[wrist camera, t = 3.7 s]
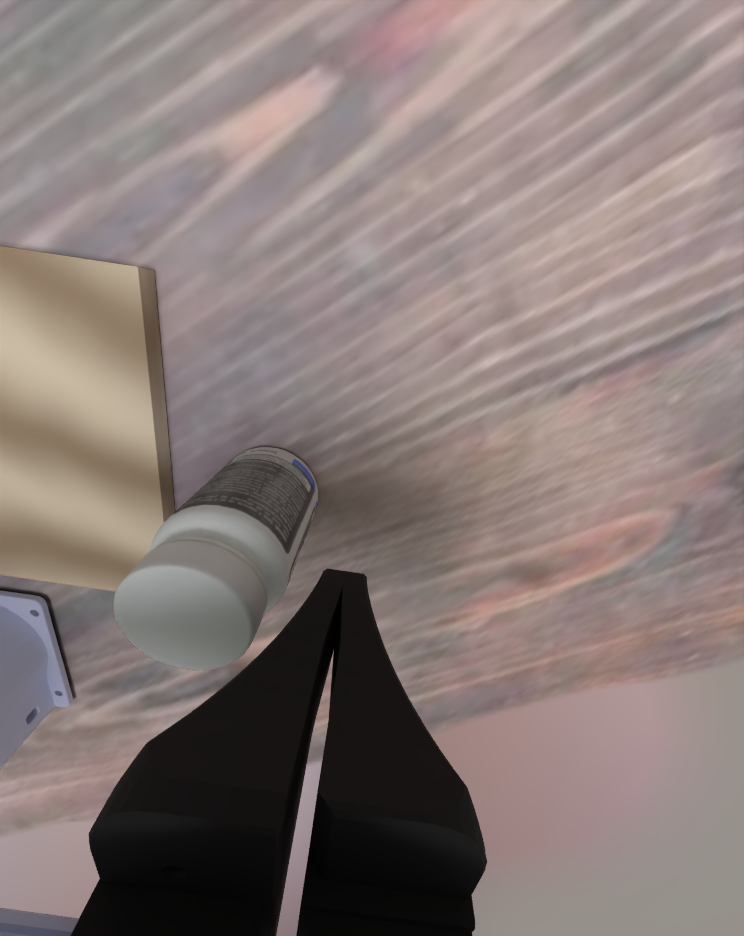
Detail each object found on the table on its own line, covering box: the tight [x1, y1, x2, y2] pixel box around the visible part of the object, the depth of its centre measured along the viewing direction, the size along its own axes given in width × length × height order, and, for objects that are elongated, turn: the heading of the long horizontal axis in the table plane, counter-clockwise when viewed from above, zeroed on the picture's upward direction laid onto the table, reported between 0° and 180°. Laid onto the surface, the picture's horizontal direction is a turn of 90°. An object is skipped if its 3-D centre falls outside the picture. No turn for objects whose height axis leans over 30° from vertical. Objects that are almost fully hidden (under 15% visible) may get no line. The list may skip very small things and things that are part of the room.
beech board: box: [0, 246, 175, 592], centre depth 17 cm, size 16×12×1 cm
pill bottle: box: [113, 447, 318, 670], centre depth 14 cm, size 5×5×8 cm
